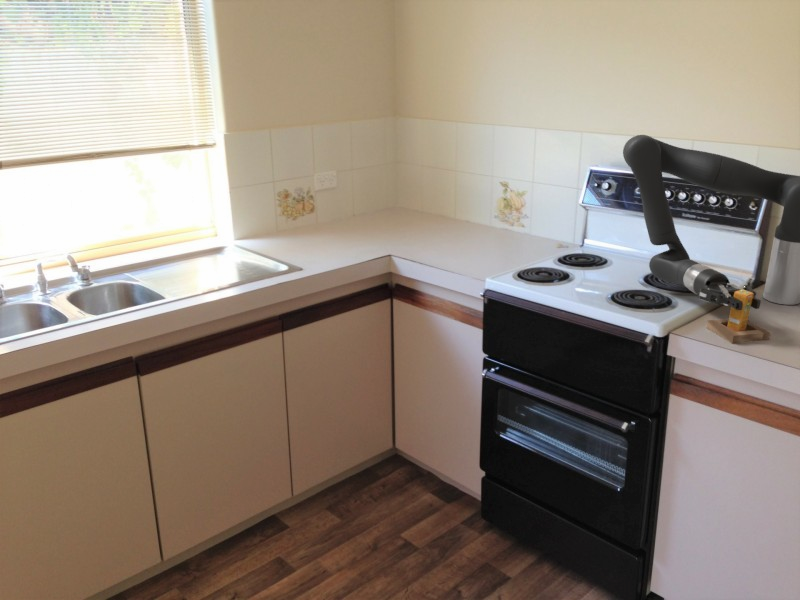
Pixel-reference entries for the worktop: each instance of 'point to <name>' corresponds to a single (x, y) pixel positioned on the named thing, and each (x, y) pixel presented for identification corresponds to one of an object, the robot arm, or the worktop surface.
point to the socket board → (749, 335)
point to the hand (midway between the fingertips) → (749, 305)
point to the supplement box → (740, 311)
